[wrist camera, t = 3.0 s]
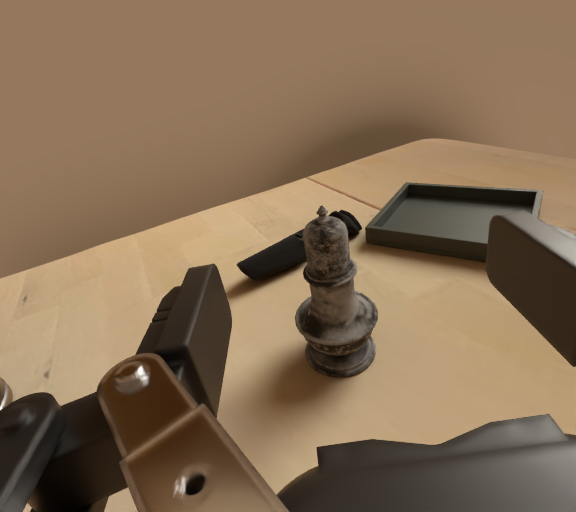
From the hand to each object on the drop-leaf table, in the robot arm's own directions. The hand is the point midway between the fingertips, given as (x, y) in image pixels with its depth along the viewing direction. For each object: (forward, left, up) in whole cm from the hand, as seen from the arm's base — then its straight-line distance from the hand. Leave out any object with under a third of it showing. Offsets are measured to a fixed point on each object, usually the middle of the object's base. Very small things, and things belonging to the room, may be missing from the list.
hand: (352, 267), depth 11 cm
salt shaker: (-6, +9, -15) cm, 18 cm away
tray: (-3, +31, -15) cm, 34 cm away
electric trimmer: (-16, +20, -15) cm, 30 cm away
